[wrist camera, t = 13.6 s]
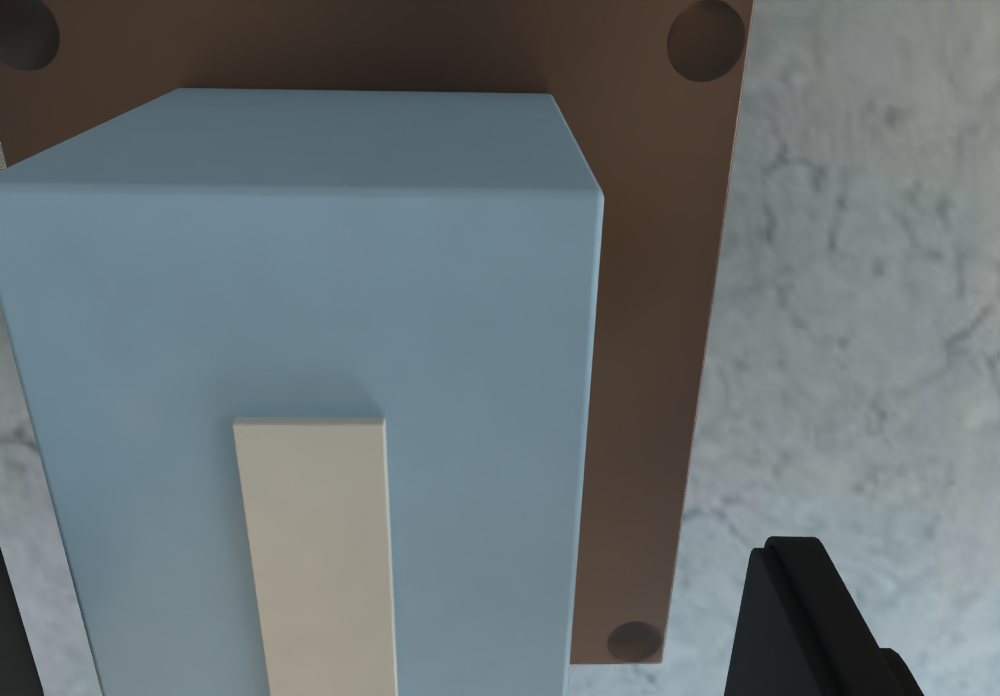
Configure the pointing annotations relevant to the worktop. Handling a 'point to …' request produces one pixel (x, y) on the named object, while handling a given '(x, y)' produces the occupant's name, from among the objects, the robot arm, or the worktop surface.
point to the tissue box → (313, 387)
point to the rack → (487, 69)
